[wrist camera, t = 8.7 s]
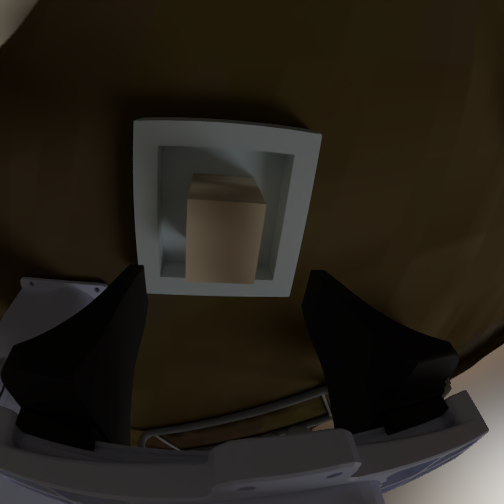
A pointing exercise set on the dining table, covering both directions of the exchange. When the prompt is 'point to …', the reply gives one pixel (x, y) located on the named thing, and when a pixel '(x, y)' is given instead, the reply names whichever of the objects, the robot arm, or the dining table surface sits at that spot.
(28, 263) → the dining table surface
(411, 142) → the dining table surface
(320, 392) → the newton's cradle
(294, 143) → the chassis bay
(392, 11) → the dining table surface
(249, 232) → the beige cardboard-like cube
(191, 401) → the dining table surface
